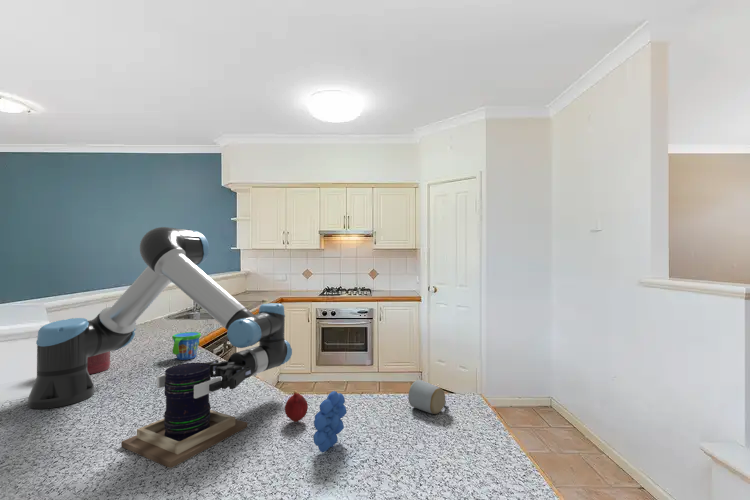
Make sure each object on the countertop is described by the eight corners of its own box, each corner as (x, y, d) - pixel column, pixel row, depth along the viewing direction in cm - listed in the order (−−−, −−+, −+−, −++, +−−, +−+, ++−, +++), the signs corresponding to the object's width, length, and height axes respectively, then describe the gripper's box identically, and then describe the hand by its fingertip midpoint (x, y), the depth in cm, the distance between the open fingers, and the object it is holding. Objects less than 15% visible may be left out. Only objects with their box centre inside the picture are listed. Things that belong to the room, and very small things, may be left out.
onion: (311, 418, 96) (311, 388, 96) (300, 428, 90) (300, 396, 90) (292, 415, 97) (292, 386, 98) (280, 425, 92) (280, 393, 92)
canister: (116, 369, 139) (117, 323, 139) (75, 378, 128) (75, 328, 128) (102, 363, 146) (102, 319, 146) (61, 372, 135) (62, 325, 135)
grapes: (328, 431, 89) (328, 382, 89) (352, 437, 86) (352, 386, 86) (299, 455, 78) (299, 399, 78) (325, 462, 75) (325, 404, 75)
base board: (121, 446, 82) (121, 432, 82) (200, 412, 99) (200, 401, 99) (170, 468, 73) (170, 452, 73) (247, 427, 91) (247, 414, 91)
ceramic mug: (432, 419, 95) (432, 389, 95) (407, 410, 101) (407, 382, 101) (453, 407, 103) (453, 380, 103) (429, 400, 109) (429, 374, 109)
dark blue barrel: (162, 445, 80) (163, 377, 80) (164, 427, 89) (165, 365, 89) (211, 435, 84) (212, 370, 85) (209, 418, 93) (209, 360, 93)
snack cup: (188, 352, 163) (188, 330, 163) (209, 353, 161) (209, 330, 161) (161, 362, 147) (162, 337, 147) (184, 364, 145) (184, 338, 145)
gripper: (280, 383, 97) (211, 414, 78) (217, 370, 108) (144, 393, 90) (280, 355, 97) (212, 379, 78) (217, 345, 109) (144, 363, 90)
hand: (175, 387), depth 84 cm, fingers open, 13 cm apart
